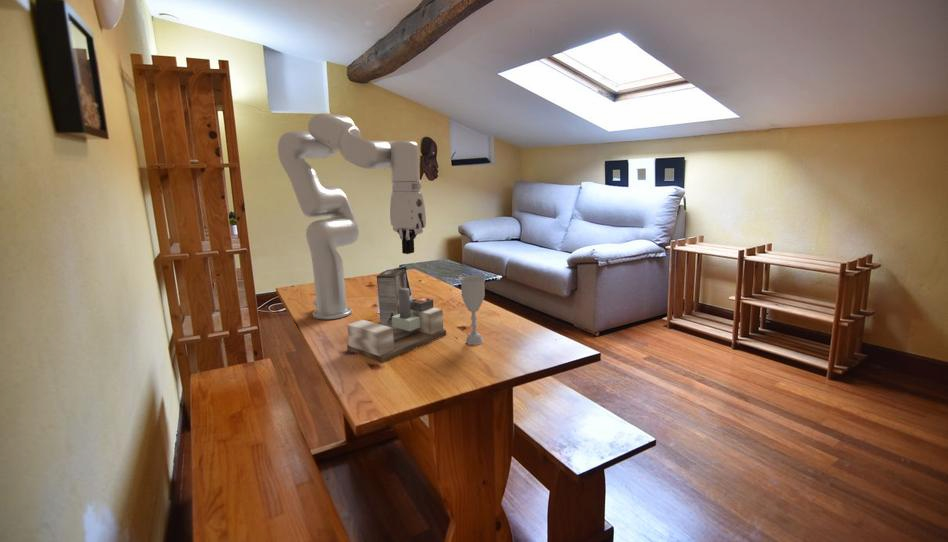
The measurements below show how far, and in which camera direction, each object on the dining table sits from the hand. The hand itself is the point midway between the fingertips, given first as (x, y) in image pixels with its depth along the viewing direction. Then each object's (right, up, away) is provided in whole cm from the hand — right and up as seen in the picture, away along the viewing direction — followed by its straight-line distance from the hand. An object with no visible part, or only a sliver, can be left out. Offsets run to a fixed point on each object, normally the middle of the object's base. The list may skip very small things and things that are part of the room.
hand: (408, 252), depth 139 cm
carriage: (0, -21, -1) cm, 21 cm away
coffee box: (-6, -21, +14) cm, 27 cm away
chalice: (+19, -25, -4) cm, 31 cm away
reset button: (+3, -16, +3) cm, 16 cm away
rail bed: (-2, -25, -3) cm, 25 cm away
